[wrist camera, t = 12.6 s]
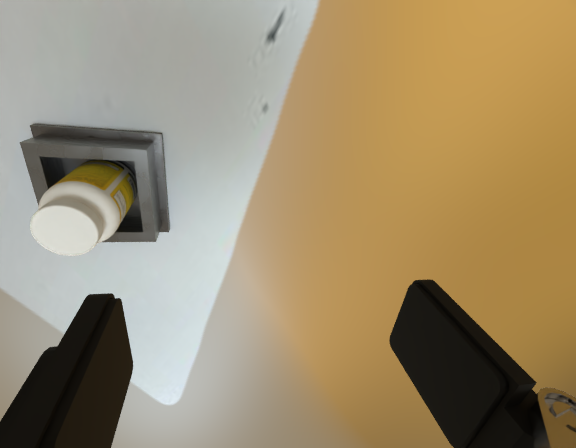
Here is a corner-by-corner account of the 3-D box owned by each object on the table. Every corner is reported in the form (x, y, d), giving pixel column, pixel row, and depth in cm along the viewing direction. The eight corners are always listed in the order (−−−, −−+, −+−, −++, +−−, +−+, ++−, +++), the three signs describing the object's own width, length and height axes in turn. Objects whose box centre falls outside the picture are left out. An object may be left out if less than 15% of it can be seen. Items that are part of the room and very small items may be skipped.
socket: (34, 123, 29) (6, 132, 25) (162, 133, 32) (154, 142, 28) (62, 228, 35) (42, 248, 31) (169, 228, 38) (163, 247, 34)
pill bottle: (63, 179, 32) (-4, 228, 22) (105, 144, 31) (54, 179, 21) (112, 218, 35) (72, 276, 25) (151, 187, 34) (125, 235, 24)
